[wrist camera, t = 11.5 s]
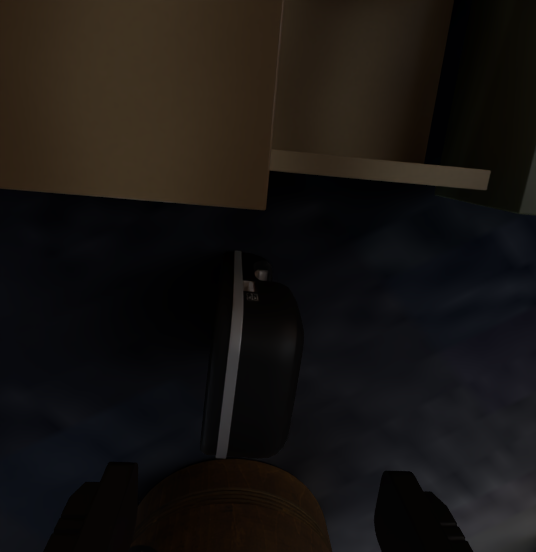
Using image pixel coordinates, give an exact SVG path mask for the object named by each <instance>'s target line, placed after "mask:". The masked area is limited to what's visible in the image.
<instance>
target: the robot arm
mask: <svg viewBox="0 0 536 552" xmlns="http://www.w3.org/2000/svg"><path fill="white" fill-rule="evenodd" d="M137 510H138V464H137V463H133V462H109V463H108V465H107V467H106V469H105V472H104V474H103V476H102V479H101V481H100V482H85V483H84V484H83V485H82V486H81V487H80V488H79V489H78V490H77V491H76V492H75V493H74V494H73V495H72V496H71V497H70V498H69V500H68V502H67V504H66V506H65V508H64V510H63V512H62V514H61V518H60V519H59V521H58V523H57V525H56V527H55V529H54V533H53V534H52V535H51V537H50V539H49V541H48V543H47V545H46V547H45V549H44V551H43V552H129V550H130V546H131V542H132V539H133V535H134V531H135V526H136V519H137ZM374 524H375V532H376V536H377V540H378V543H379V545H380V548H381V551H382V552H473V550H472V549H471V547H470V545H469V543H468V542H467V541H465V537H464V535H463V533H462V531H461V530H460V528H459V527H457V523H456V521H455V520H454V518H453V516H452V514H451V513H450V511H449V509H448V508H447V506H446V505H445V504H444V503H443V502H442V501H441V500H440V499H438V498H437V497H436V496H435V495H434V494H433V493H432V492H423V490H422V489H421V487H420V485H419V483H418V481H417V479H416V478H415V476H414V474H413V473H412V472H410V471H384V472H383V475H382V478H381V483H380V489H379V494H378V499H377V504H376V509H375V515H374Z"/></svg>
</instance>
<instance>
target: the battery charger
mask: <svg viewBox="0 0 536 552" xmlns="http://www.w3.org/2000/svg"><path fill="white" fill-rule="evenodd" d="M303 343H304V330H303V325H302V320H301V316H300V313H299V309H298V306H297V302H296V300H295V298H294V296H293V294H292V292H291V291H290V289H289V288H288V287H286V286H284V285H283V284H281V283H276V282H272V267H271V265H270V264H269V262H268V261H267V260H266V259H264V258H262V257H260V256H257V255H254V254H251V253H242V252H241V251H237V250H235V251H234V252H233V251H227V252H225V253H224V254H223V257H222V263H221V270H220V277H219V283H218V290H217V297H216V304H215V311H214V319H213V327H212V336H211V345H210V354H209V364H208V373H207V383H206V392H205V402H204V411H203V421H202V431H201V441H200V449H201V451H202V452H203V453H204V454H207V455H216V458H223V459H226V456H232V457H247V458H269V457H271V456H273V455H276V454H277V453H278V452H279V451H280V450H281V449H282V448H283V447H284V445H285V443H286V441H287V438H288V434H289V429H290V423H291V417H292V412H293V406H294V400H295V394H296V388H297V382H298V376H299V370H300V364H301V358H302V351H303Z"/></svg>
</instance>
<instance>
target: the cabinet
mask: <svg viewBox="0 0 536 552" xmlns="http://www.w3.org/2000/svg"><path fill="white" fill-rule="evenodd" d="M284 2H285V0H0V189H12V190H24V191H36V192H48V193H60V194H72V195H84V196H96V197H108V198H120V199H133V200H145V201H157V202H169V203H181V204H193V205H205V206H217V207H229V208H241V209H253V210H265V209H266V204H267V192H268V181H269V170H270V159H271V148H272V136H273V125H274V114H275V103H276V92H277V80H278V69H279V58H280V47H281V36H282V25H283V13H284Z"/></svg>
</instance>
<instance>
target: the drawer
mask: <svg viewBox="0 0 536 552" xmlns="http://www.w3.org/2000/svg"><path fill="white" fill-rule="evenodd" d="M453 4H454V0H285V2H284V13H283V25H282V36H281V47H280V58H279V69H278V80H277V92H276V103H275V114H274V125H273V136H272V148H271V159H270V170H269V171H279V172H290V173H301V174H312V175H322V176H333V177H344V178H355V179H366V180H377V181H388V182H399V183H410V184H421V185H432V186H436V188H435V193H434V195H437V196H442V197H446V198H451V199H455V200H460V201H464V202H468V203H473V204H477V205H482V206H486V207H491V208H495V209H500V210H504V211H509V212H513V213H517V214H527V215H536V0H472V4H471V9H470V14H469V19H468V24H467V29H466V35H465V40H464V45H463V50H462V55H461V60H460V65H459V70H458V76H457V81H456V86H455V91H454V96H453V101H452V106H451V111H450V117H449V122H448V127H447V132H446V137H445V142H444V147H443V152H442V158H441V163H440V165H431V164H424V160H425V155H426V150H427V144H428V139H429V133H430V128H431V123H432V117H433V112H434V106H435V101H436V96H437V90H438V85H439V79H440V74H441V68H442V63H443V58H444V52H445V47H446V41H447V36H448V31H449V25H450V20H451V14H452V9H453Z"/></svg>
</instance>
